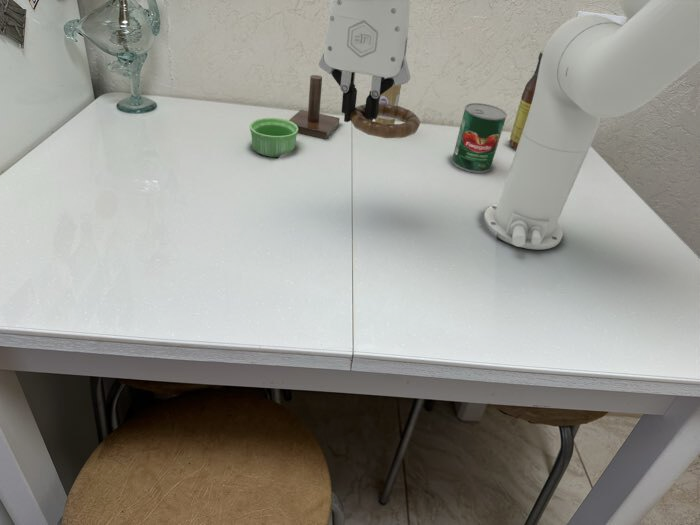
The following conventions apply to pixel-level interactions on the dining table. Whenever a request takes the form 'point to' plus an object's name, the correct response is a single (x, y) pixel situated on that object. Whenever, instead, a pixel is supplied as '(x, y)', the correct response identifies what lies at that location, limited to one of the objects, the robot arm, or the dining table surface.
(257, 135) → the ramekin
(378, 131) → the ring
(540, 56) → the sauce bottle
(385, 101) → the sprinkles bottle
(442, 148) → the dining table surface
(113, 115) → the dining table surface
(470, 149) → the canned tomato
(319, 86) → the stand
